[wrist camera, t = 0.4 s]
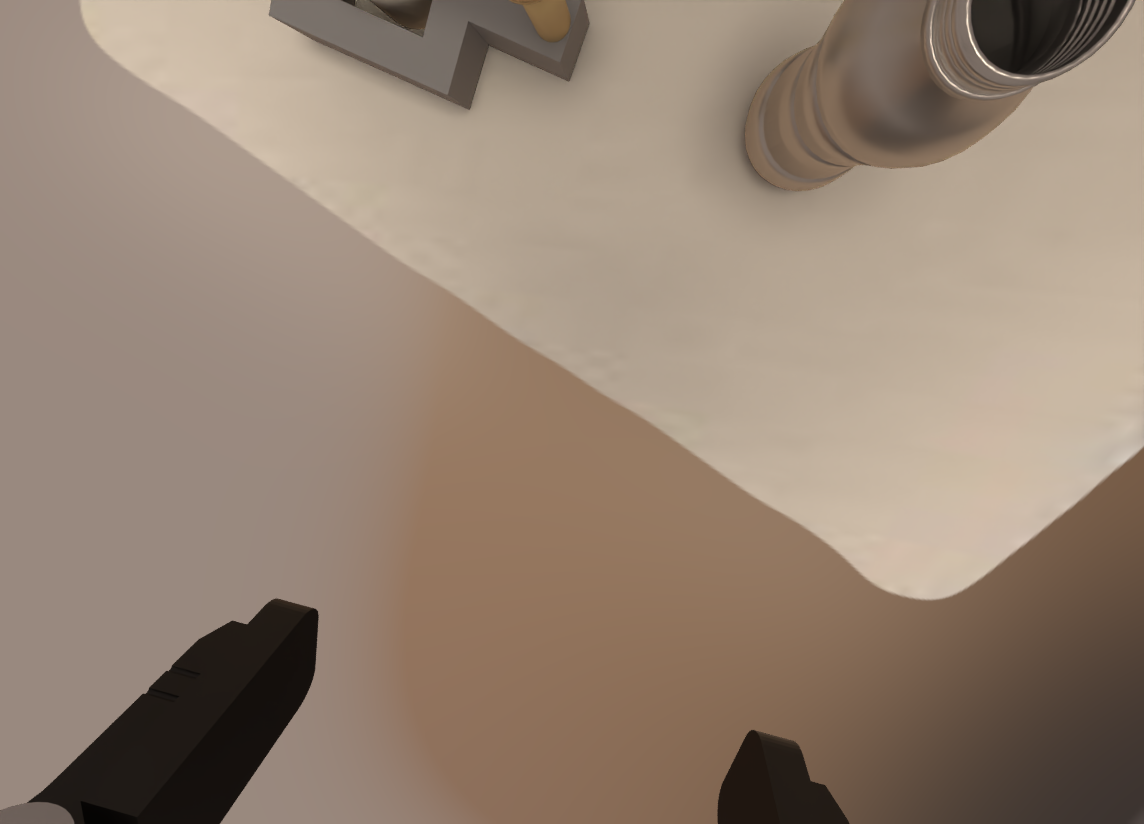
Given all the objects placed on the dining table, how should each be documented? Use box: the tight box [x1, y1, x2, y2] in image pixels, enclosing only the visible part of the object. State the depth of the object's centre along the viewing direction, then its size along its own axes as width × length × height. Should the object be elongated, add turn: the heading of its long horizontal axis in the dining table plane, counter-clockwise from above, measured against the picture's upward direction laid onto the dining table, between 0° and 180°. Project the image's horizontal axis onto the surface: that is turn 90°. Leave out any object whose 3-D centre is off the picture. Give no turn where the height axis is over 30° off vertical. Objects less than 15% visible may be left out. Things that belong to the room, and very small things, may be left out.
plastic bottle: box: [745, 0, 1135, 191], centre depth 21 cm, size 6×7×20 cm
